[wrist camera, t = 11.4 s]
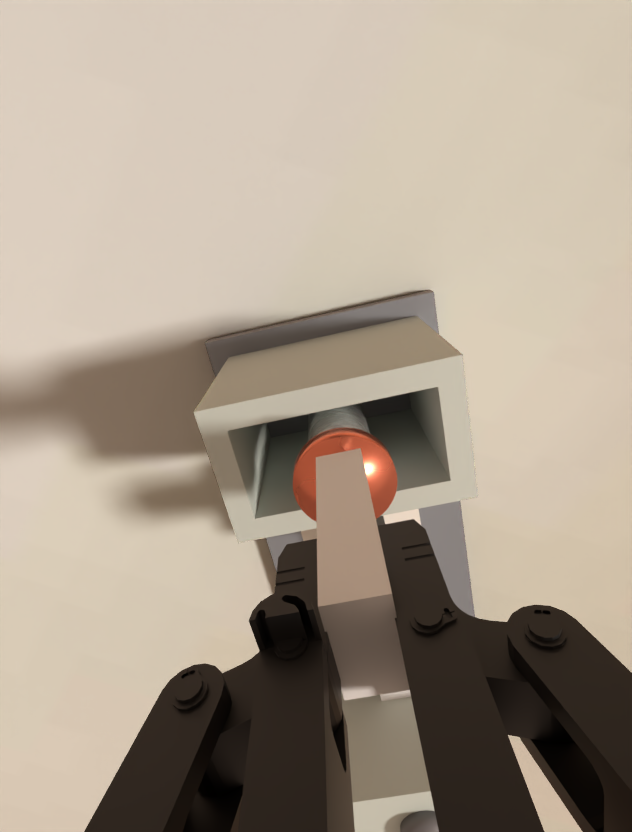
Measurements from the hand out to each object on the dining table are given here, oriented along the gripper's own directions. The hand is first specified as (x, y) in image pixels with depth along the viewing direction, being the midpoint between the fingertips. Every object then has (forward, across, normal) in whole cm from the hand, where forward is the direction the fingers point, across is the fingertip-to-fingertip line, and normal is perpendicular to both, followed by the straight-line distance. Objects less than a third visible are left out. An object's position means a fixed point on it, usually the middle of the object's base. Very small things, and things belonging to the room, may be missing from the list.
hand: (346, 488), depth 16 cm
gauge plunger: (+9, 0, 0) cm, 9 cm away
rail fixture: (+11, 0, -12) cm, 17 cm away
